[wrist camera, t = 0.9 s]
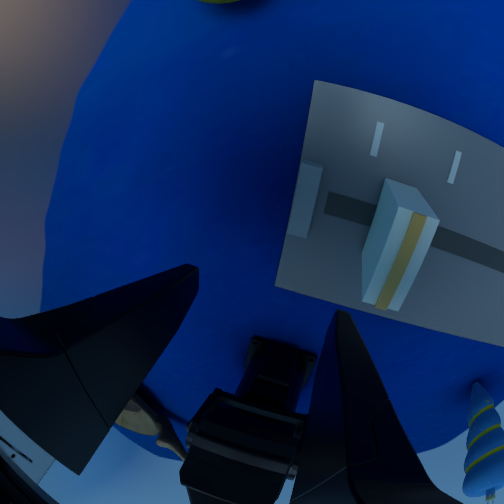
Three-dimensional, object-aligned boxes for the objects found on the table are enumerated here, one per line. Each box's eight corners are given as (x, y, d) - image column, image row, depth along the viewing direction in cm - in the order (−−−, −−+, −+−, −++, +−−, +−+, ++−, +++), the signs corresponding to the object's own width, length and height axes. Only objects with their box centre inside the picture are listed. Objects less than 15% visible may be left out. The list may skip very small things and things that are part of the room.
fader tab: (390, 261, 17) (398, 314, 13) (361, 252, 17) (362, 303, 13) (416, 188, 14) (440, 222, 10) (385, 177, 15) (399, 207, 10)
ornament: (447, 393, 23) (449, 518, 11) (472, 363, 20) (489, 501, 8) (478, 396, 22) (487, 511, 10) (504, 368, 19) (525, 491, 7)
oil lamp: (66, 316, 40) (37, 344, 34) (216, 422, 40) (196, 460, 33) (73, 368, 53) (54, 390, 47) (182, 444, 52) (168, 470, 46)
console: (513, 335, 18) (522, 357, 15) (281, 271, 23) (270, 293, 20) (580, 204, 10) (599, 218, 8) (318, 82, 15) (312, 78, 13)
